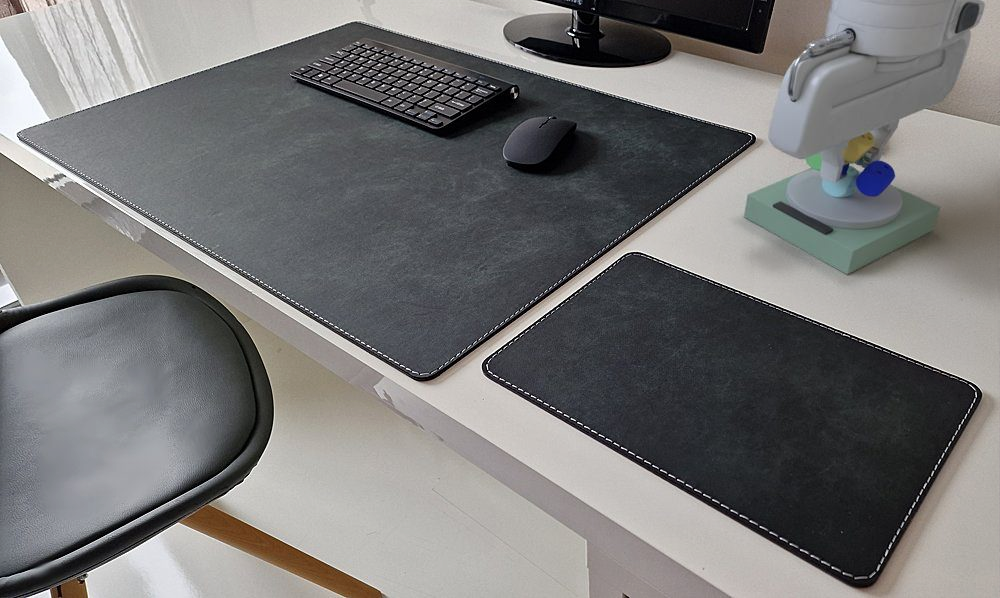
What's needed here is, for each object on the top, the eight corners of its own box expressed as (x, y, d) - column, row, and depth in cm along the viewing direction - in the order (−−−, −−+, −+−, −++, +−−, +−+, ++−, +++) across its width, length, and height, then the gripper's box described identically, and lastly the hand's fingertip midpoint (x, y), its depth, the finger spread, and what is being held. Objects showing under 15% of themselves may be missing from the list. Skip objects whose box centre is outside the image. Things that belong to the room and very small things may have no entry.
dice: (890, 201, 71) (909, 136, 68) (877, 212, 70) (895, 146, 66) (809, 173, 76) (822, 111, 72) (795, 183, 75) (807, 120, 71)
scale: (827, 180, 82) (833, 151, 80) (933, 230, 73) (943, 199, 71) (743, 216, 77) (748, 187, 75) (847, 274, 68) (855, 243, 67)
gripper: (832, 58, 57) (797, 222, 65) (998, 0, 65) (949, 152, 74) (765, 35, 61) (740, 192, 70) (929, -16, 70) (889, 129, 78)
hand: (848, 171), depth 72 cm, fingers closed on dice, 3 cm apart
